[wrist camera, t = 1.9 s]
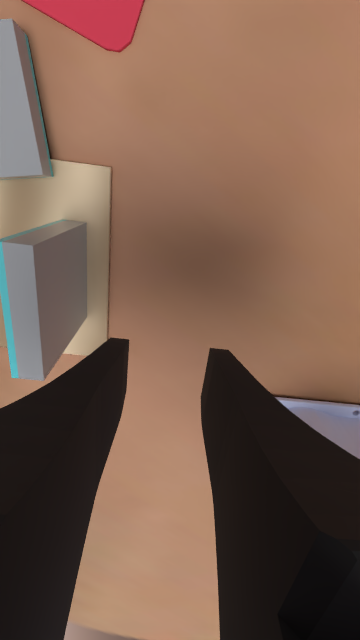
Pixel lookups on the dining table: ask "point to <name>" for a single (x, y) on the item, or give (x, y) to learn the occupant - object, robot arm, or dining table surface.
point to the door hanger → (96, 19)
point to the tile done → (20, 110)
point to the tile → (43, 294)
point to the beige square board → (77, 205)
